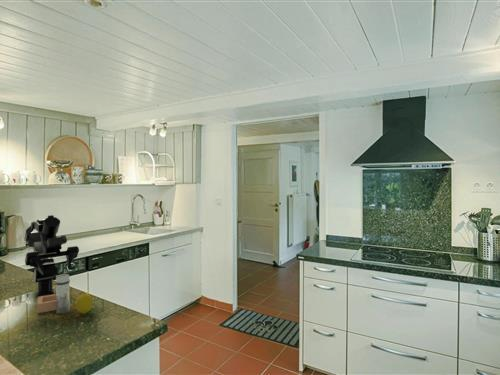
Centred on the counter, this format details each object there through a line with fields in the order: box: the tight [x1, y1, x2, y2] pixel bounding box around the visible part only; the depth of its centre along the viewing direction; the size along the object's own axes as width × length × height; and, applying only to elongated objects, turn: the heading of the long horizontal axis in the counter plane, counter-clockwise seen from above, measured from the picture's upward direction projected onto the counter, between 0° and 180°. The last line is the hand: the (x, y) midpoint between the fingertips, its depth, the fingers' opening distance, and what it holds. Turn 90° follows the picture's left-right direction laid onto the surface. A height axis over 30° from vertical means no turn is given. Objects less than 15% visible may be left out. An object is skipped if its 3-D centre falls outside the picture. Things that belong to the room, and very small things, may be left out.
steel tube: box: [55, 273, 71, 315], centre depth 119 cm, size 5×5×14 cm
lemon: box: [75, 292, 94, 315], centre depth 116 cm, size 6×6×8 cm
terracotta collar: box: [36, 293, 56, 314], centre depth 124 cm, size 9×9×4 cm
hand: (57, 272), depth 125 cm, fingers open, 9 cm apart
